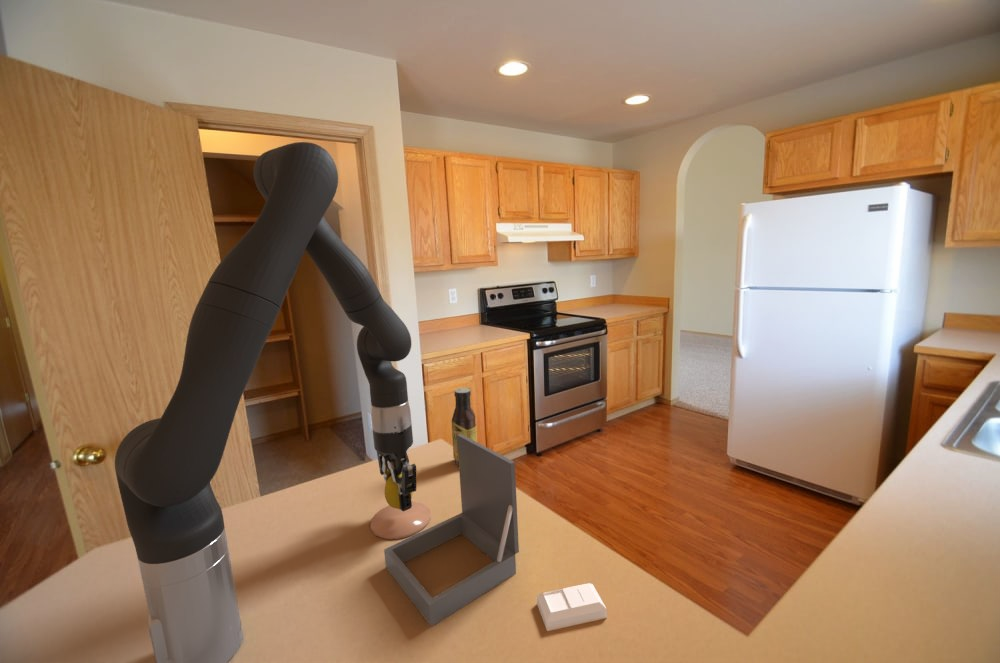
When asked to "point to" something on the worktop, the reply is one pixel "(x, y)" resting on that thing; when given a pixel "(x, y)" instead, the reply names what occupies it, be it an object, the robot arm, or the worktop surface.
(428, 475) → the worktop surface
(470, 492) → the case
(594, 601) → the white rocker switch
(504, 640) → the worktop surface
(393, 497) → the lemon
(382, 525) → the saucer
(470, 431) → the sauce bottle
